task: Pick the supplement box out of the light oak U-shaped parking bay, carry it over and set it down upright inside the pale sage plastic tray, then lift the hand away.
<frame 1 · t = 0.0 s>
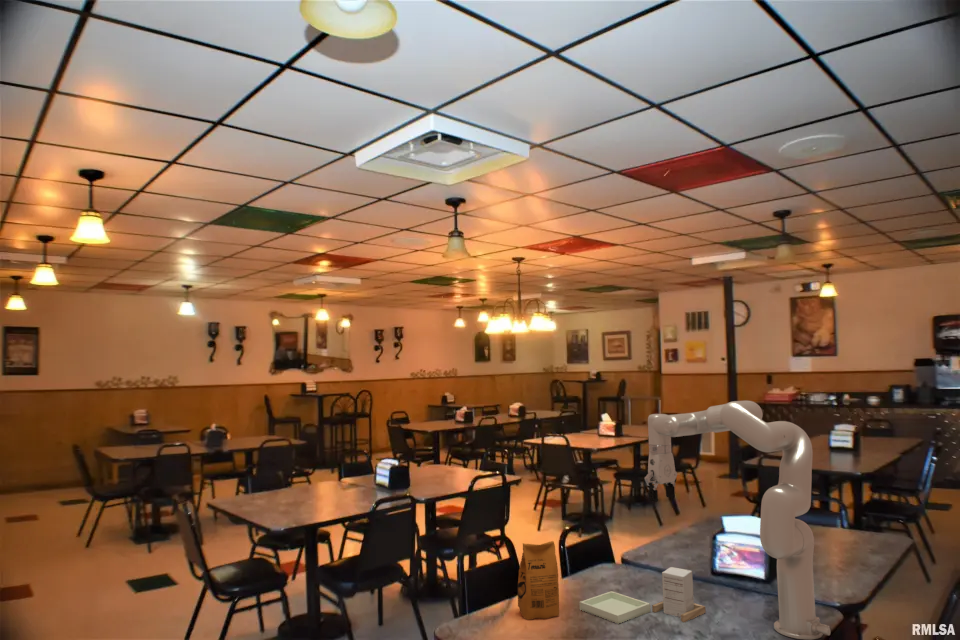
hand: (662, 499, 222), 31 cm above the table, tool pointing down, fingers open, 9 cm apart
parking bay: (678, 612, 200), on the table
coffee package: (538, 614, 201), on the table
tray: (614, 610, 202), on the table
supplement box: (678, 613, 200), on the table
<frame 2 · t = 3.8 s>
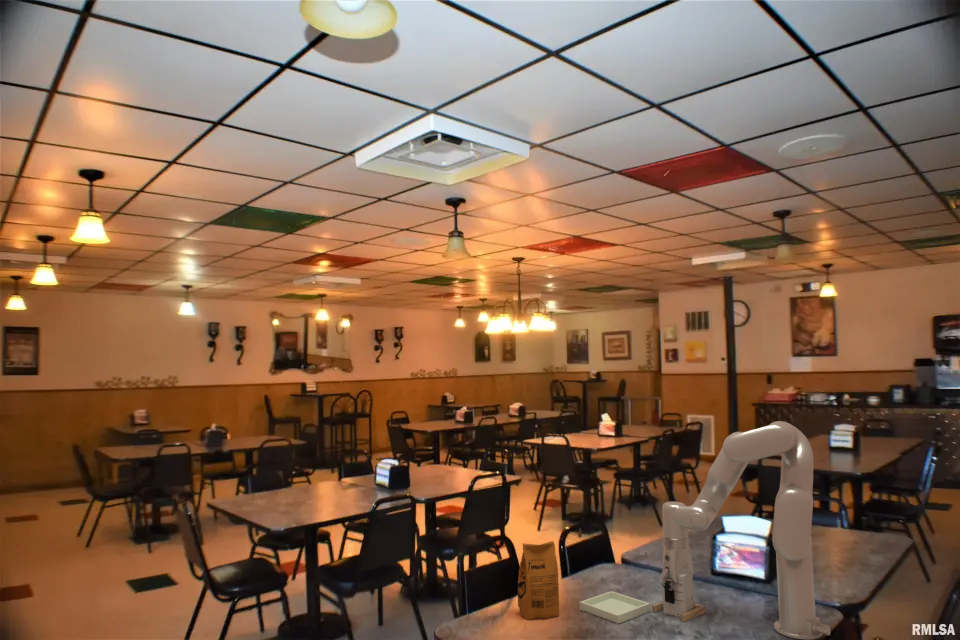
hand: (678, 599, 200), 4 cm above the table, tool pointing down, fingers closed on supplement box, 8 cm apart
supplement box: (678, 613, 200), on the table, touching gripper
everything else where it was.
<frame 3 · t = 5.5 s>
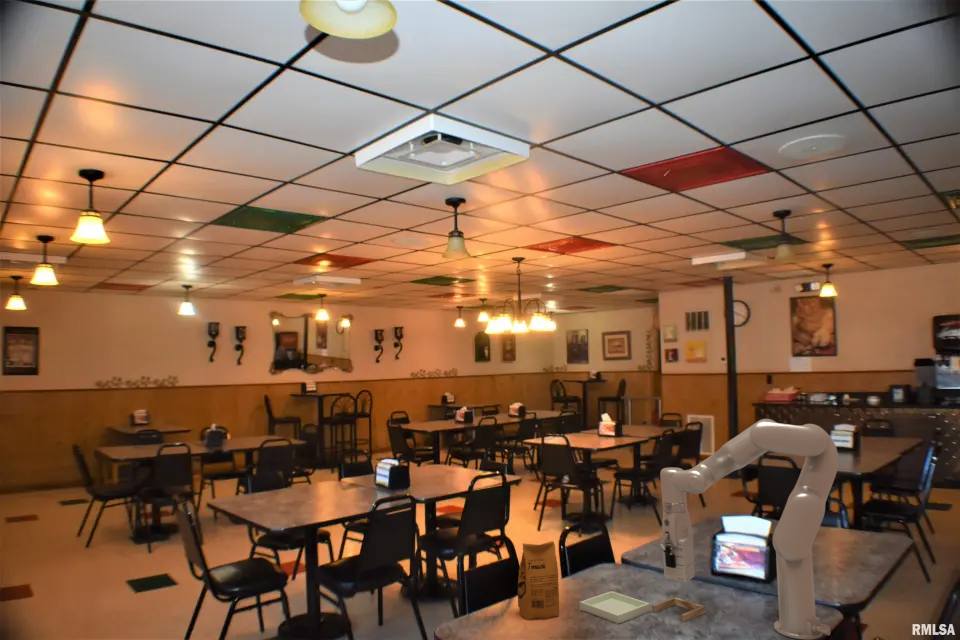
hand: (679, 563, 201), 15 cm above the table, tool pointing down, fingers closed on supplement box, 8 cm apart
supplement box: (679, 577, 201), point 11 cm above the table, touching gripper
everything else where it was.
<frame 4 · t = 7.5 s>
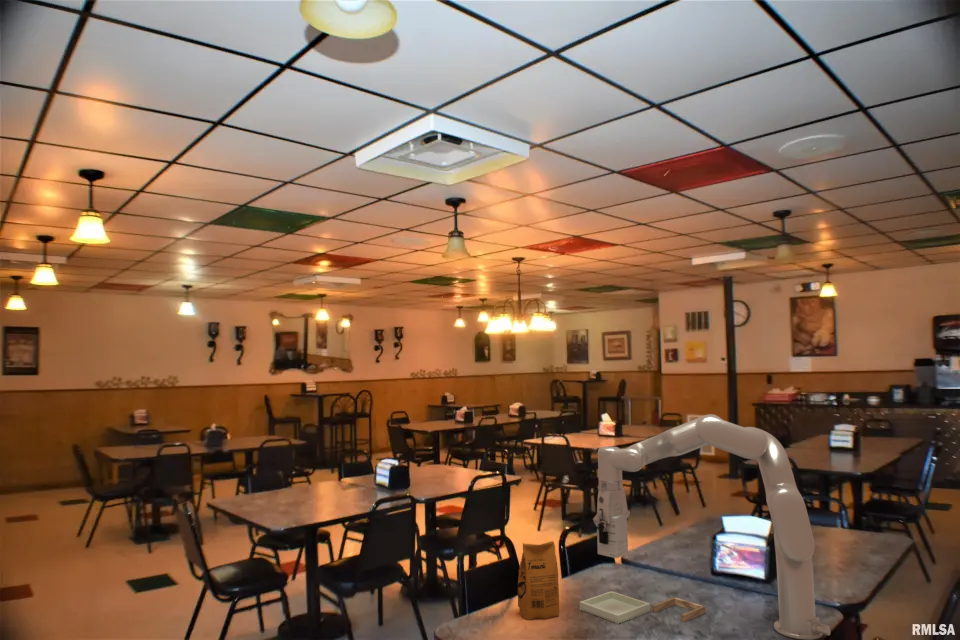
hand: (612, 540, 204), 22 cm above the table, tool pointing down, fingers closed on supplement box, 8 cm apart
supplement box: (612, 554, 204), point 17 cm above the table, touching gripper
everything else where it was.
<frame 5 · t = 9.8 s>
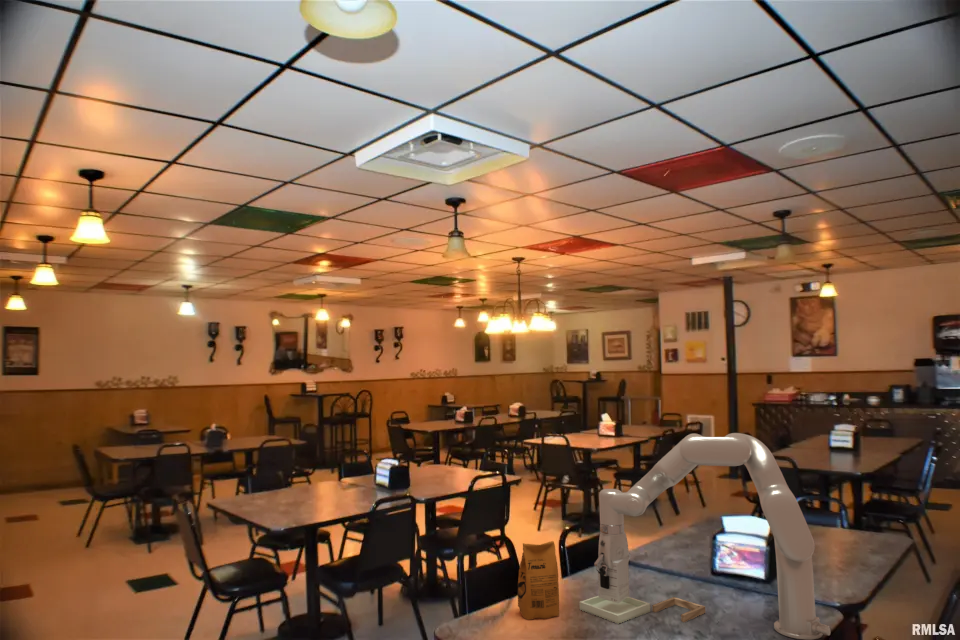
hand: (614, 584, 203), 8 cm above the table, tool pointing down, fingers closed on supplement box, 8 cm apart
supplement box: (613, 598, 203), point 4 cm above the table, touching gripper
everything else where it was.
when the fingers open (6 cm above the table, at t = 11.4 s): supplement box drops 1 cm, resting on tray.
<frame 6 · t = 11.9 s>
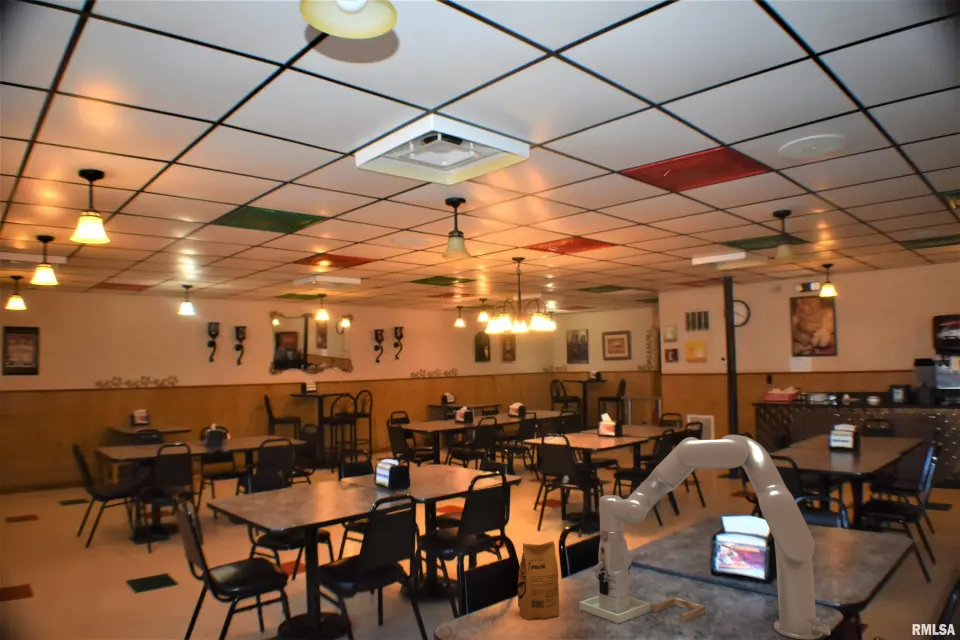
hand: (614, 590, 203), 6 cm above the table, tool pointing down, fingers open, 9 cm apart
supplement box: (614, 609, 202), resting on tray
everything else where it was.
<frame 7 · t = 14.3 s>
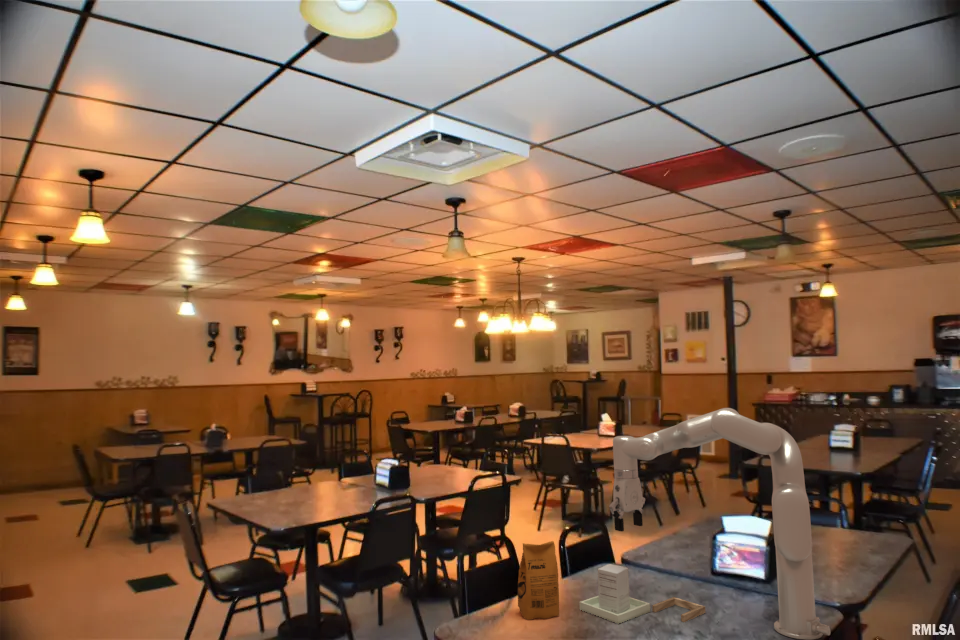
hand: (628, 528, 206), 25 cm above the table, tool pointing down, fingers open, 9 cm apart
nothing on the table moved.
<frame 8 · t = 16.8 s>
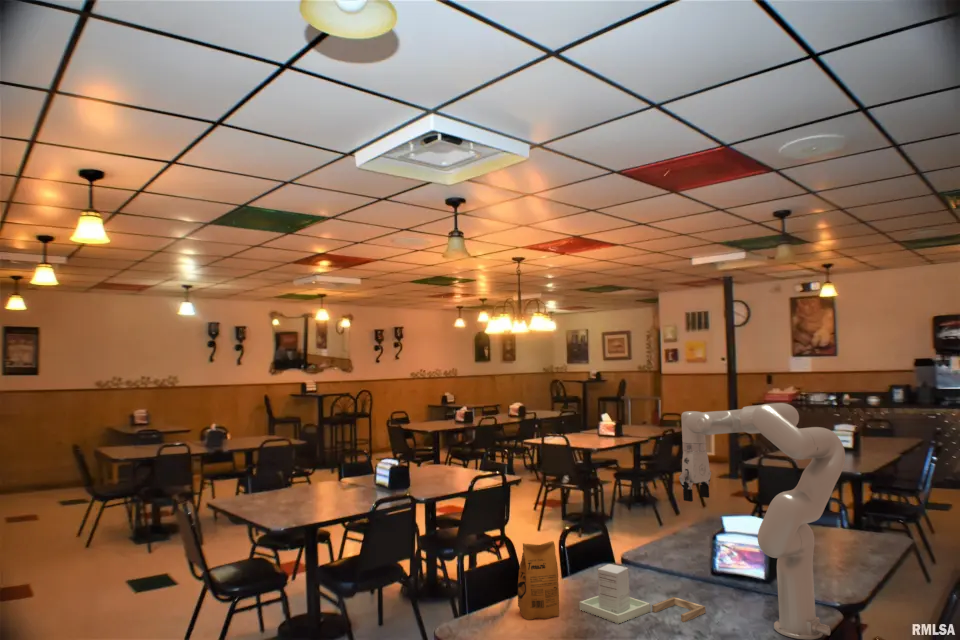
hand: (696, 499, 216), 32 cm above the table, tool pointing down, fingers open, 9 cm apart
nothing on the table moved.
at the end: supplement box inside the target area on the tray (0.1 cm from its centre), point 0.4 cm above the tray's base; supplement box tilted 0°; the gripper is holding nothing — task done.
